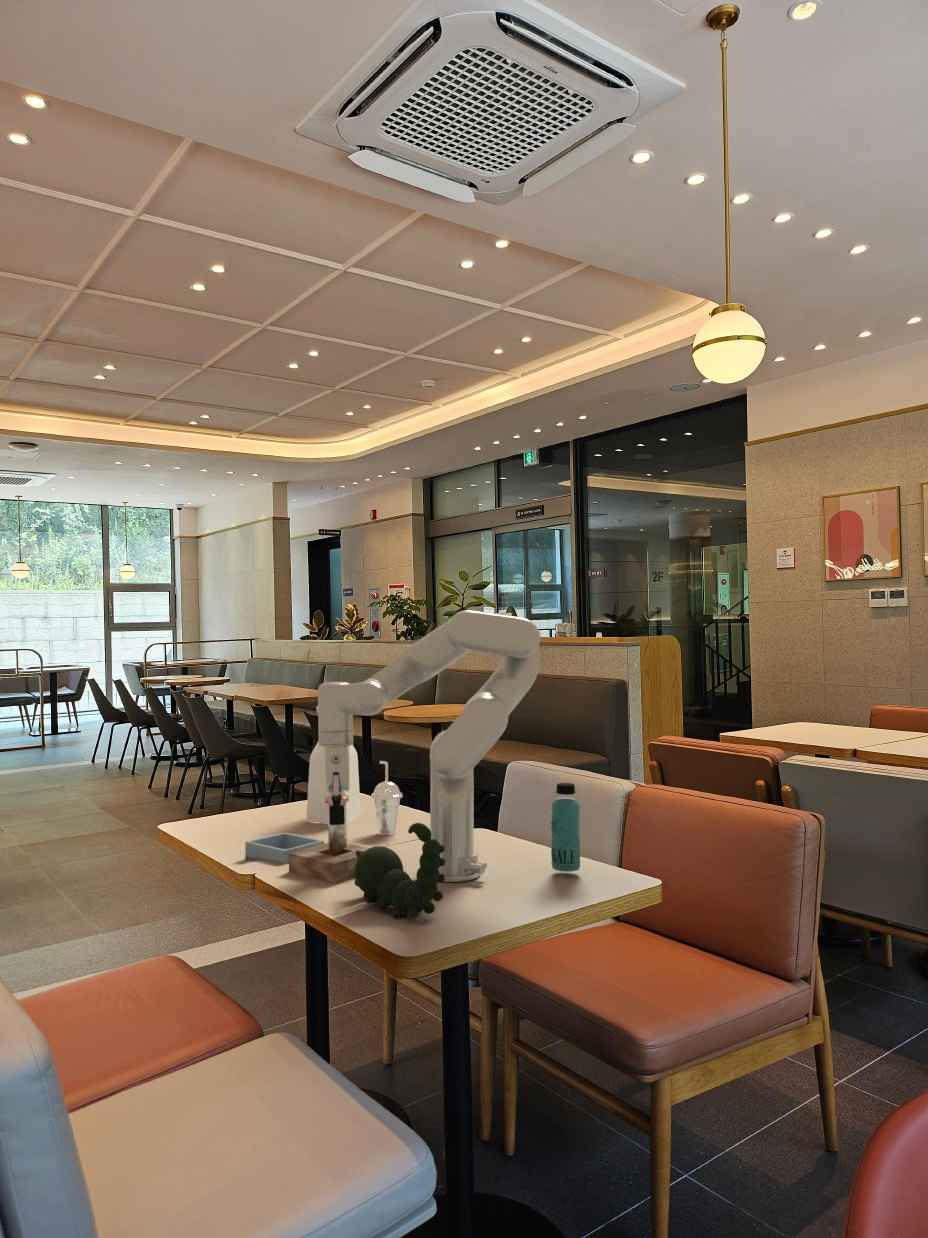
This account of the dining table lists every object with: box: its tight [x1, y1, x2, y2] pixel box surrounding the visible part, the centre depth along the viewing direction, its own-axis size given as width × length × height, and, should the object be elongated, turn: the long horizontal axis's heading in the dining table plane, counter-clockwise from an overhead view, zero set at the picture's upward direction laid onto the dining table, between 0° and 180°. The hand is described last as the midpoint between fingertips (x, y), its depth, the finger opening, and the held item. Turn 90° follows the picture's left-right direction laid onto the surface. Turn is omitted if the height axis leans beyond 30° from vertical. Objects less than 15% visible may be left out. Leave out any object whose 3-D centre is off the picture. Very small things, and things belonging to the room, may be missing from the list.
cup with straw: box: [370, 760, 404, 836], centre depth 220 cm, size 8×9×20 cm
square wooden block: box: [288, 842, 370, 884], centre depth 181 cm, size 14×14×5 cm
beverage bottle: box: [550, 782, 581, 873], centre depth 181 cm, size 6×7×20 cm
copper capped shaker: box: [325, 795, 349, 850], centre depth 181 cm, size 5×5×11 cm
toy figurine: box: [354, 822, 445, 919], centre depth 158 cm, size 9×19×25 cm
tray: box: [244, 832, 325, 865], centre depth 195 cm, size 14×12×4 cm
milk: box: [305, 740, 362, 824], centre depth 238 cm, size 12×12×26 cm
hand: (337, 821), depth 181 cm, fingers closed on copper capped shaker, 4 cm apart
